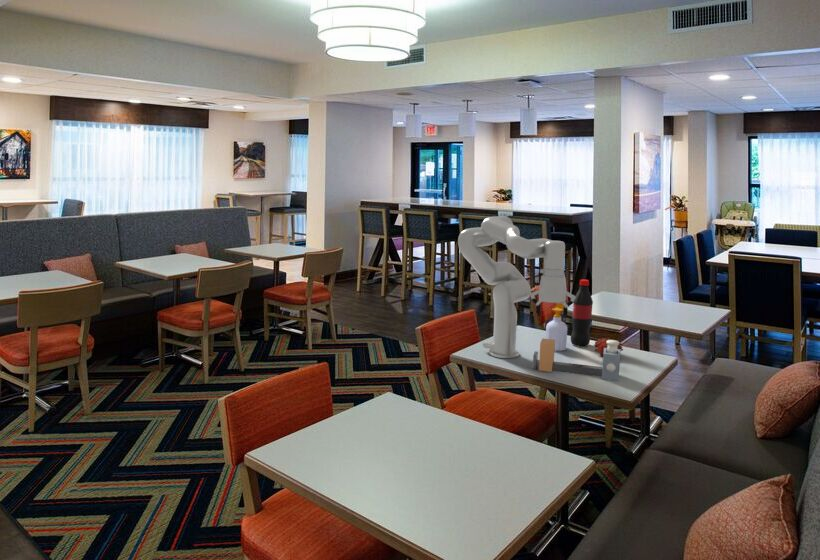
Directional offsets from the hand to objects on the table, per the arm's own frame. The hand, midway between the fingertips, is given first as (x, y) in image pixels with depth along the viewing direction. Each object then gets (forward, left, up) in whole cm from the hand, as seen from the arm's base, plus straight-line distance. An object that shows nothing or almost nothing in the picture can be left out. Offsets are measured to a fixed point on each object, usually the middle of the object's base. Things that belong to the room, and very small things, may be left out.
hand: (551, 316), depth 231 cm
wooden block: (-1, -1, -22) cm, 22 cm away
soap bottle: (0, +29, -22) cm, 36 cm away
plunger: (+23, -1, -13) cm, 26 cm away
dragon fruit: (+22, +26, -22) cm, 41 cm away
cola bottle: (+10, +38, -22) cm, 45 cm away
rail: (+8, -1, -22) cm, 23 cm away
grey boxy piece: (+23, -1, -22) cm, 32 cm away
